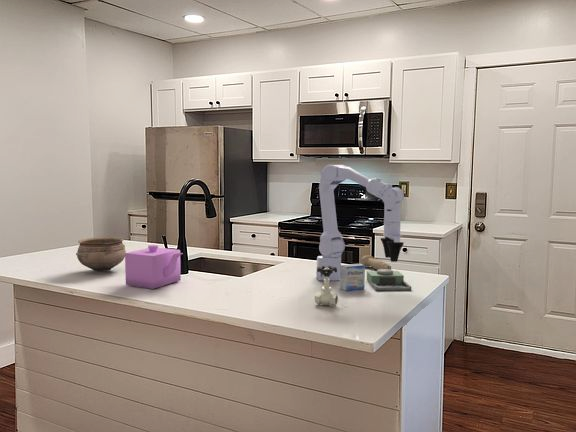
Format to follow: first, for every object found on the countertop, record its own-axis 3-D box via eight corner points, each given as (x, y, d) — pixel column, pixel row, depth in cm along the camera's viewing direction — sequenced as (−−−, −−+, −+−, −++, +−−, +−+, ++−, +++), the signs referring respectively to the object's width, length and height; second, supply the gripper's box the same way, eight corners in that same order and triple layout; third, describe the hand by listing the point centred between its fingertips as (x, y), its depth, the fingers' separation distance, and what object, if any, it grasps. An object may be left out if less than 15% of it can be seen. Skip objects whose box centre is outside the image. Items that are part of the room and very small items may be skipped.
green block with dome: (371, 285, 188) (371, 273, 187) (366, 280, 196) (366, 268, 195) (403, 285, 189) (403, 273, 188) (397, 280, 197) (397, 268, 196)
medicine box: (345, 291, 179) (346, 266, 178) (339, 288, 183) (339, 264, 182) (364, 289, 182) (365, 265, 181) (358, 286, 186) (358, 262, 185)
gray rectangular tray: (375, 291, 179) (375, 286, 179) (370, 285, 188) (370, 281, 188) (411, 290, 180) (411, 286, 180) (404, 285, 188) (404, 281, 188)
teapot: (169, 291, 178) (168, 251, 176) (115, 283, 189) (114, 245, 187) (196, 282, 191) (195, 245, 190) (144, 275, 202) (143, 240, 201)
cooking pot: (107, 262, 227) (107, 235, 226) (140, 266, 219) (140, 238, 218) (60, 273, 205) (59, 242, 204) (95, 278, 197) (94, 246, 195)
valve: (320, 301, 165) (320, 265, 164) (339, 304, 163) (340, 266, 162) (312, 306, 159) (313, 269, 158) (332, 309, 157) (333, 270, 156)
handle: (395, 262, 210) (372, 254, 223) (382, 264, 207) (360, 256, 220) (394, 273, 211) (372, 265, 224) (382, 275, 208) (360, 267, 221)
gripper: (409, 224, 174) (408, 263, 176) (397, 219, 189) (396, 255, 190) (388, 224, 174) (387, 263, 175) (379, 219, 188) (378, 255, 190)
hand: (391, 259), depth 183 cm, fingers open, 7 cm apart
